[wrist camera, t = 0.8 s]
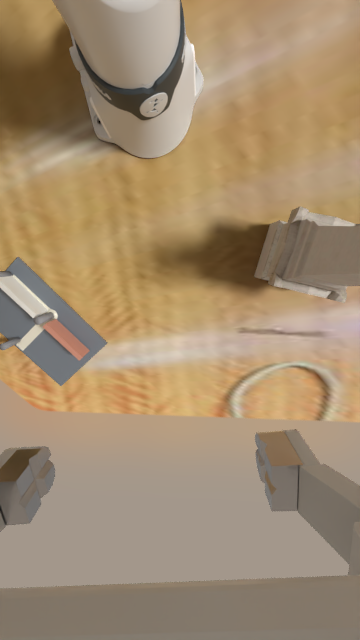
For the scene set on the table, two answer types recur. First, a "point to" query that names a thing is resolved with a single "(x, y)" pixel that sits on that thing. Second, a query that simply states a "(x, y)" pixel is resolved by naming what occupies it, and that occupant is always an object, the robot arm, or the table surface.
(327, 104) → the table surface
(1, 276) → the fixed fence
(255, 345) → the table surface
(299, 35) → the table surface
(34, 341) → the card
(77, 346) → the fence panel
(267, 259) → the miniature monument
